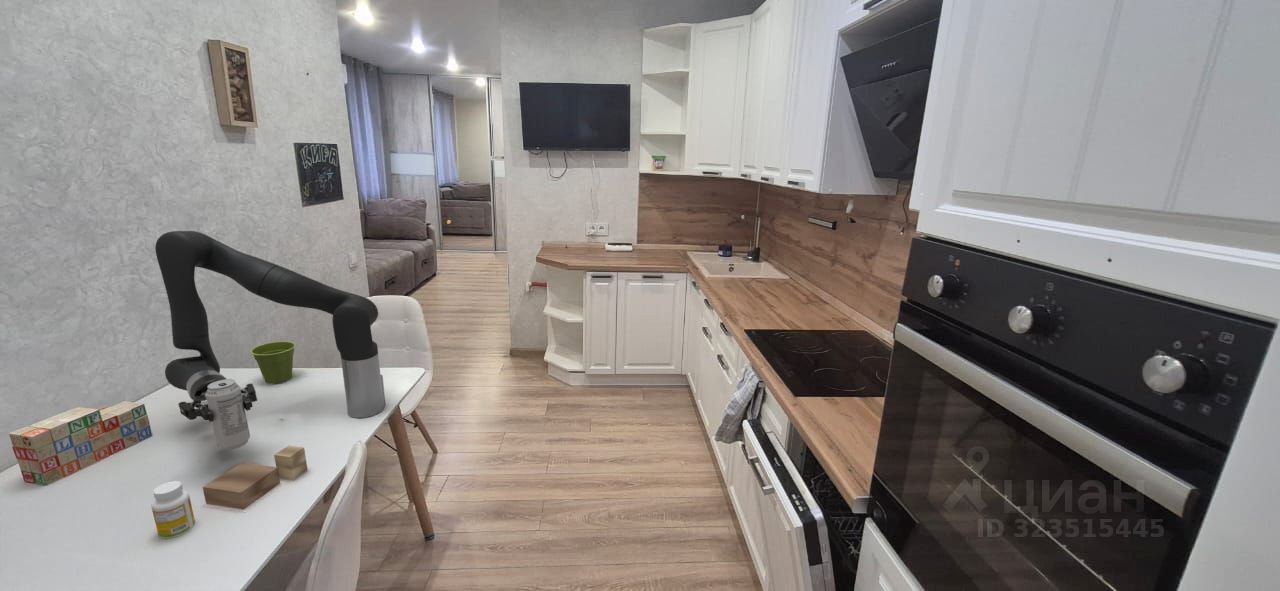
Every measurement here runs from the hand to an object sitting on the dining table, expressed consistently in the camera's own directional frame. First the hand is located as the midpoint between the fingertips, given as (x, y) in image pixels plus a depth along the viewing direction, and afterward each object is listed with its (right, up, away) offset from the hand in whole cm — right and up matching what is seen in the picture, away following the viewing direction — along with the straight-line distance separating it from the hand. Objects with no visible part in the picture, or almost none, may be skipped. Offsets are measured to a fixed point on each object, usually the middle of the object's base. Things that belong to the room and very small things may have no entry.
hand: (230, 411), depth 112 cm
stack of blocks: (-40, -13, +9) cm, 43 cm away
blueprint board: (+6, -17, -1) cm, 18 cm away
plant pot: (-26, -2, +52) cm, 58 cm away
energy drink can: (-2, -8, +4) cm, 10 cm away
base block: (+5, -17, -3) cm, 18 cm away
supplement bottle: (0, -20, -13) cm, 24 cm away
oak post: (+11, -15, +4) cm, 19 cm away
